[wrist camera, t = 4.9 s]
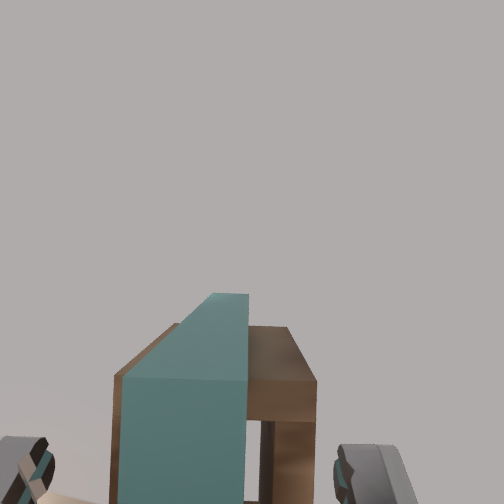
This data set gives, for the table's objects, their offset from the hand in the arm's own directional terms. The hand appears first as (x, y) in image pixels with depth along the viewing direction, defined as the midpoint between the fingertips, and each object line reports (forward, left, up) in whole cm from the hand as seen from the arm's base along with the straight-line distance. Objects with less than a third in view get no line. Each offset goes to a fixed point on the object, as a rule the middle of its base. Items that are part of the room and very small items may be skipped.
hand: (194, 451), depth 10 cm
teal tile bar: (0, -9, 0) cm, 9 cm away
